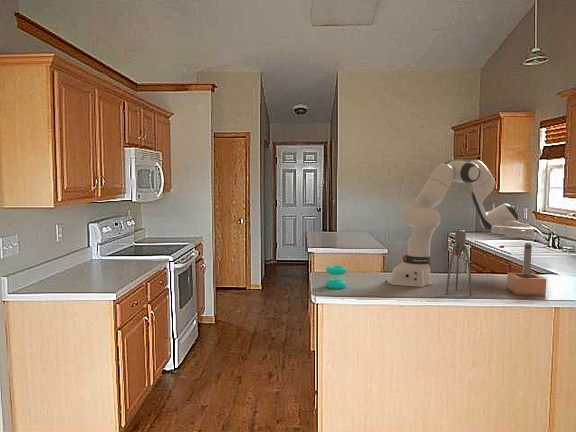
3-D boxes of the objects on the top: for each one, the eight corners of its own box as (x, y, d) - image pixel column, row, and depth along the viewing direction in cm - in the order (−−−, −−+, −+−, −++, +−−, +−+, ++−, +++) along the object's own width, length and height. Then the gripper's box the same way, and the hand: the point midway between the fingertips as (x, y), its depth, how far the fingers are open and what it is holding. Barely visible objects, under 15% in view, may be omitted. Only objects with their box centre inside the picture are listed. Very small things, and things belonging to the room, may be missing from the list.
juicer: (471, 295, 241) (474, 231, 238) (446, 294, 244) (448, 230, 241) (468, 291, 251) (471, 228, 248) (444, 289, 253) (446, 227, 250)
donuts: (342, 264, 260) (349, 268, 251) (341, 284, 261) (349, 289, 252) (323, 265, 258) (330, 269, 248) (322, 285, 258) (329, 290, 249)
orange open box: (516, 295, 243) (517, 278, 243) (506, 288, 256) (507, 272, 256) (545, 296, 243) (546, 279, 242) (533, 289, 256) (534, 273, 255)
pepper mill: (519, 290, 248) (522, 243, 246) (519, 288, 253) (522, 241, 251) (531, 292, 246) (534, 243, 244) (530, 289, 251) (533, 242, 249)
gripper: (491, 221, 280) (490, 224, 268) (533, 224, 272) (534, 227, 260) (490, 233, 281) (489, 236, 268) (532, 236, 273) (533, 239, 260)
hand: (512, 231), depth 264 cm, fingers open, 8 cm apart
